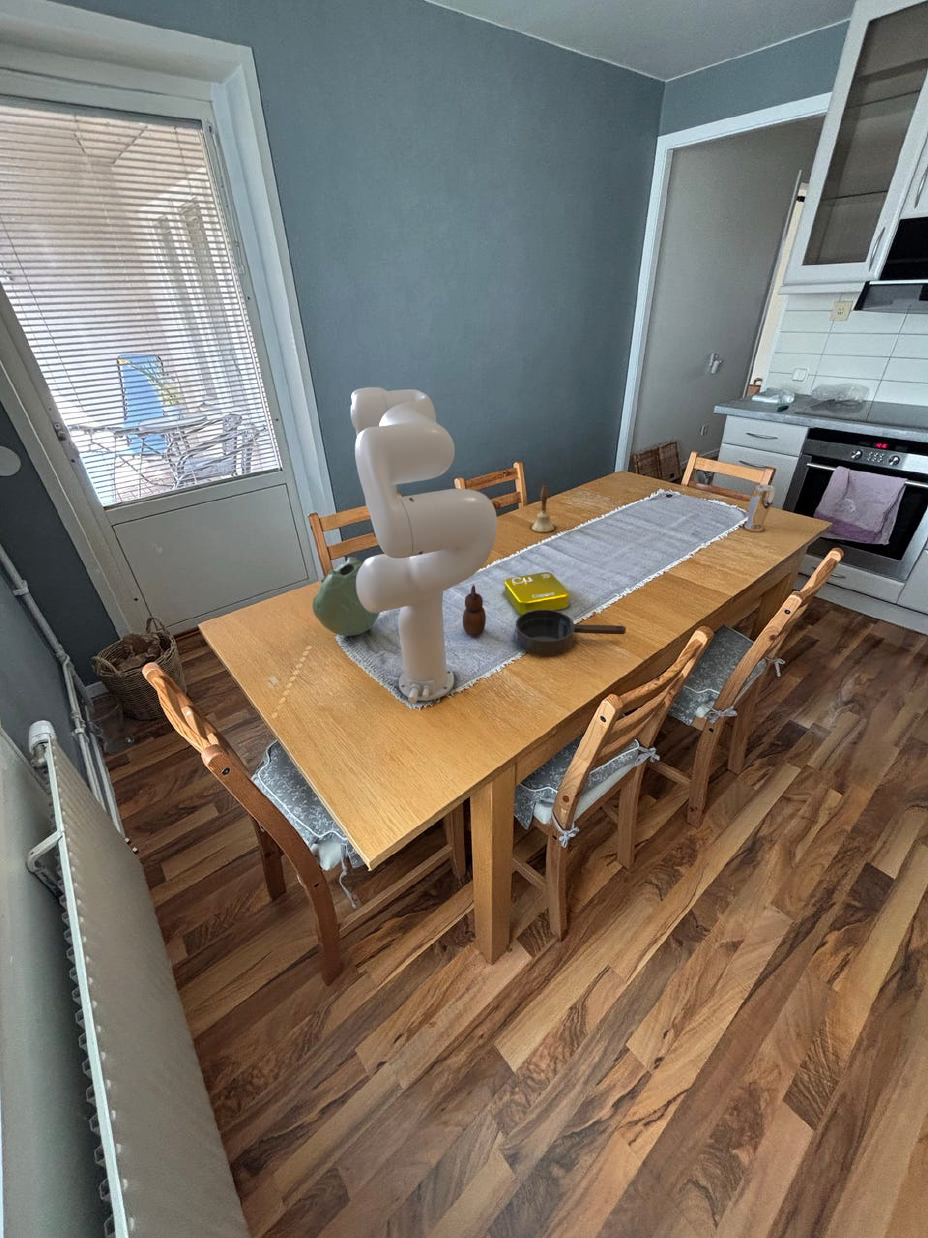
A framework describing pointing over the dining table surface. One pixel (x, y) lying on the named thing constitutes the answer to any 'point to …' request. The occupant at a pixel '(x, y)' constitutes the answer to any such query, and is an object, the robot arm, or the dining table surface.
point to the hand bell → (543, 515)
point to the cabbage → (342, 602)
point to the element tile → (536, 592)
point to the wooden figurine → (474, 614)
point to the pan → (544, 632)
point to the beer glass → (759, 507)
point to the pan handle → (600, 629)
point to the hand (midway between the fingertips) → (387, 528)
